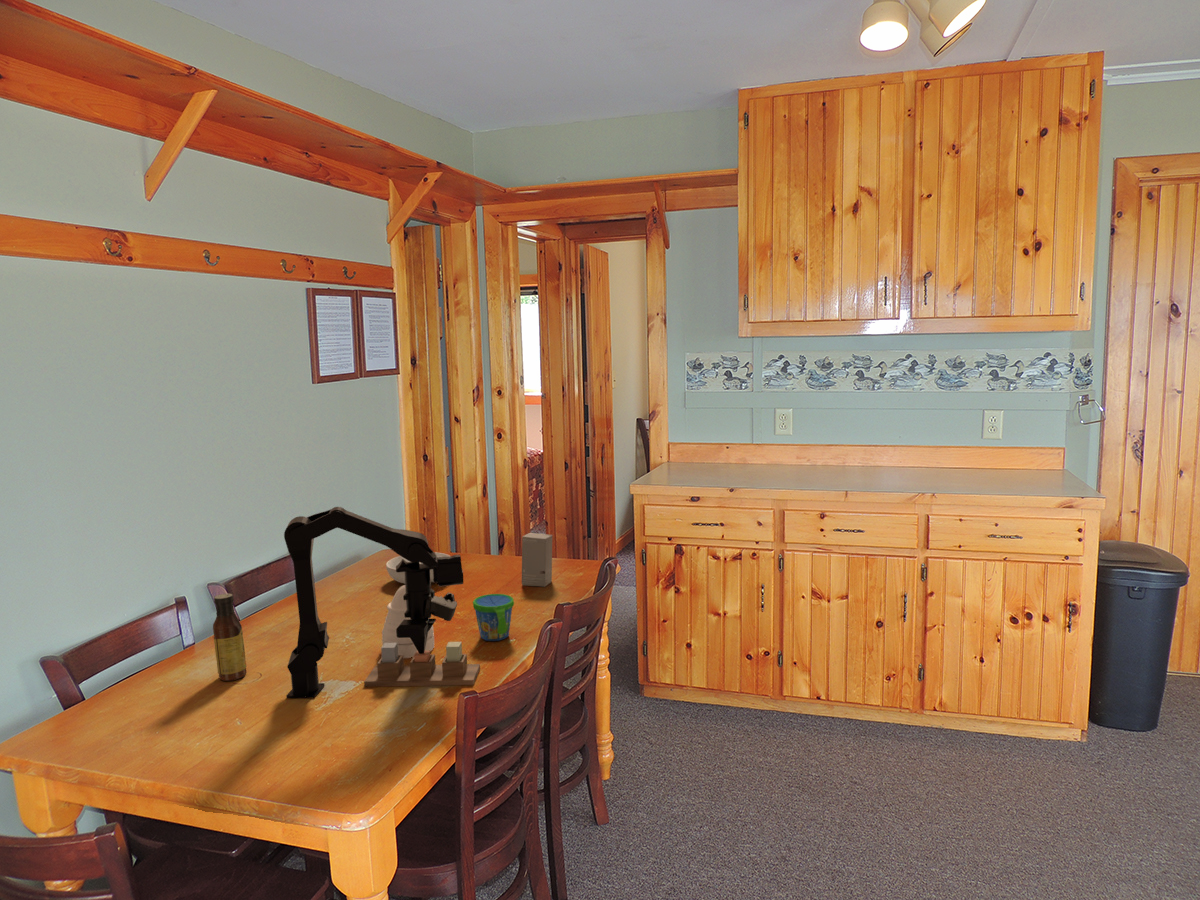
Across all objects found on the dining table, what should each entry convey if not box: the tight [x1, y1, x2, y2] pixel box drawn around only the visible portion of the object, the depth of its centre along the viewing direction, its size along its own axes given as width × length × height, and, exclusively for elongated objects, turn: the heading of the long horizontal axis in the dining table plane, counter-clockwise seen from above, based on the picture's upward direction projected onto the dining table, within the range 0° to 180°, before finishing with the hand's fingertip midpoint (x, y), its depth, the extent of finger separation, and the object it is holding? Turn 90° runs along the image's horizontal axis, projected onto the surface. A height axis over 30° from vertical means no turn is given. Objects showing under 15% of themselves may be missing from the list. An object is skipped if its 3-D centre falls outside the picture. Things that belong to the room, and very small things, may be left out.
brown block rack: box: [363, 653, 481, 687], centre depth 189 cm, size 9×25×5 cm, turn 89°
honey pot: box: [381, 584, 435, 659], centre depth 206 cm, size 13×13×18 cm
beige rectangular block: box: [445, 641, 463, 662], centre depth 188 cm, size 3×3×5 cm
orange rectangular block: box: [414, 650, 431, 662], centre depth 189 cm, size 3×3×5 cm
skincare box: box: [521, 532, 553, 588], centre depth 258 cm, size 8×7×16 cm
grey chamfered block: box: [380, 643, 399, 663], centre depth 189 cm, size 3×3×5 cm
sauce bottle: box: [212, 593, 247, 682], centre depth 191 cm, size 7×6×20 cm
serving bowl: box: [385, 551, 450, 585], centre depth 264 cm, size 21×21×7 cm
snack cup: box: [472, 593, 515, 642], centre depth 213 cm, size 16×10×10 cm
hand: (421, 653), depth 188 cm, fingers closed, pressing on orange rectangular block
